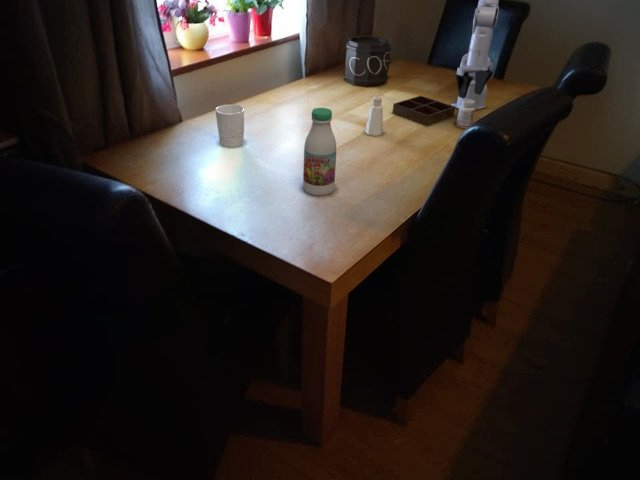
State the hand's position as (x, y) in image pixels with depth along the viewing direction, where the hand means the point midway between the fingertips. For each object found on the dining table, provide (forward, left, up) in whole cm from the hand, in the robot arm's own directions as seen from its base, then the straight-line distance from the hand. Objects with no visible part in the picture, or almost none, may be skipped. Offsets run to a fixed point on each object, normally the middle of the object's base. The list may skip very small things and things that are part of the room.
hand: (469, 95), depth 158 cm
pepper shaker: (+29, -10, -11) cm, 32 cm away
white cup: (+71, -23, -11) cm, 75 cm away
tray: (+4, -15, -10) cm, 19 cm away
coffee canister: (-2, -55, -11) cm, 56 cm away
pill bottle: (-1, -1, -11) cm, 11 cm away
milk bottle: (+64, +13, -11) cm, 66 cm away
